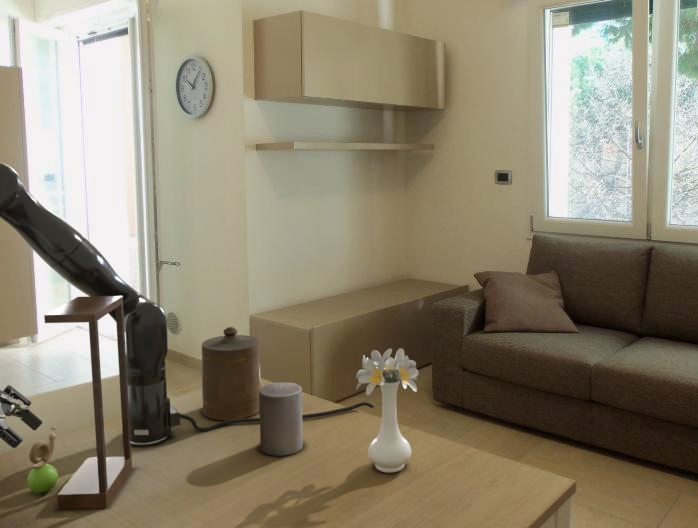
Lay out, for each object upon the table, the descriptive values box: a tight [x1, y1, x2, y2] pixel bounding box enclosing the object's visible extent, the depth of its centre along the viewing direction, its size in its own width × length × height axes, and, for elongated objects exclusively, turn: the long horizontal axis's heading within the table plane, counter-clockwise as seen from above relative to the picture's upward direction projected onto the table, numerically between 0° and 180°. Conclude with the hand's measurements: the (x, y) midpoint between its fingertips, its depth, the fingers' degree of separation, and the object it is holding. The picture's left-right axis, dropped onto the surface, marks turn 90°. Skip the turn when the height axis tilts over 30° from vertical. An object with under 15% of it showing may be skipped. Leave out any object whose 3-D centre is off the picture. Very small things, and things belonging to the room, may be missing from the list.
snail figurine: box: [27, 426, 59, 494], centre depth 136 cm, size 5×6×12 cm
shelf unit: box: [43, 296, 133, 511], centre depth 135 cm, size 9×16×38 cm, turn 3°
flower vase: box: [355, 348, 420, 474], centre depth 145 cm, size 13×18×25 cm
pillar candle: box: [258, 381, 304, 457], centre depth 155 cm, size 10×10×15 cm
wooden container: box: [201, 326, 262, 421], centre depth 177 cm, size 15×15×22 cm
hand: (29, 435), depth 135 cm, fingers open, 8 cm apart
